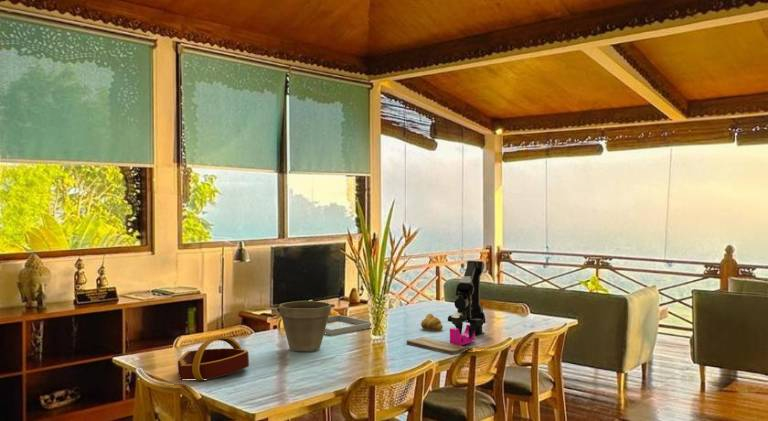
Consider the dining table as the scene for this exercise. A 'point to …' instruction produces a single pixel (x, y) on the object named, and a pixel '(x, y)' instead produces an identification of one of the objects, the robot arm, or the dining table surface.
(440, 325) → the bread roll
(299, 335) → the plant pot
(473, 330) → the robot arm
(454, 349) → the walnut board
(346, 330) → the slate tray rim
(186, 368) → the decorative basket
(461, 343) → the toy block
